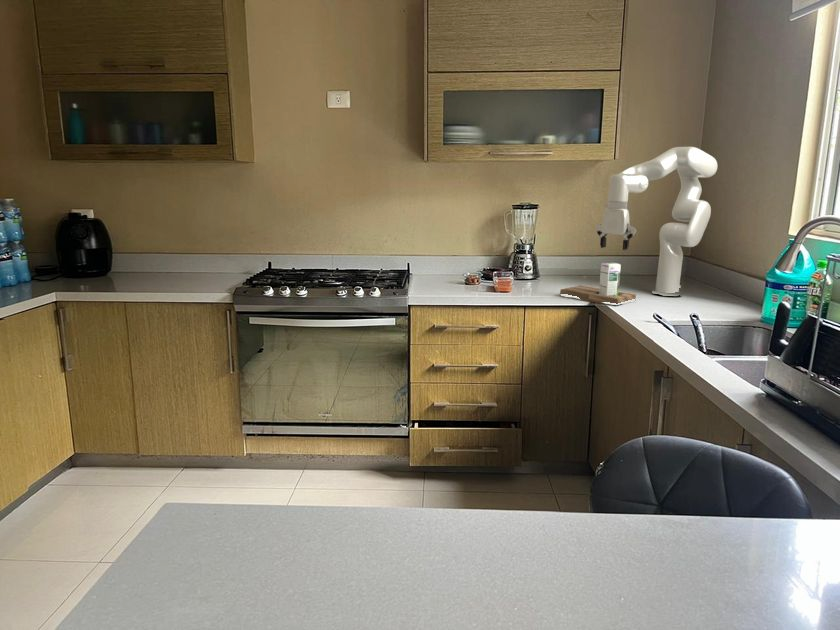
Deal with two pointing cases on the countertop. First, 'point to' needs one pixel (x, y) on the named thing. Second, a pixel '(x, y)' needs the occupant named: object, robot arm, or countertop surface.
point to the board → (596, 295)
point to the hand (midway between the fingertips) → (614, 248)
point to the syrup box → (609, 279)
